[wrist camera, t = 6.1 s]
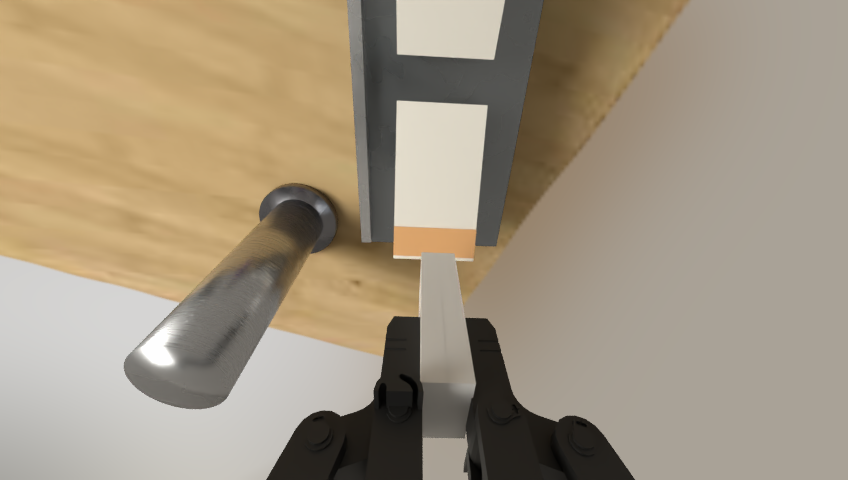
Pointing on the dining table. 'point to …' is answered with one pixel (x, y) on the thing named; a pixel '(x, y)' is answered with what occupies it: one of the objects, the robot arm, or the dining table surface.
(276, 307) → the post
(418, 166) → the paddle
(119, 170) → the dining table surface
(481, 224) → the grey channel rail
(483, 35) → the paddle
